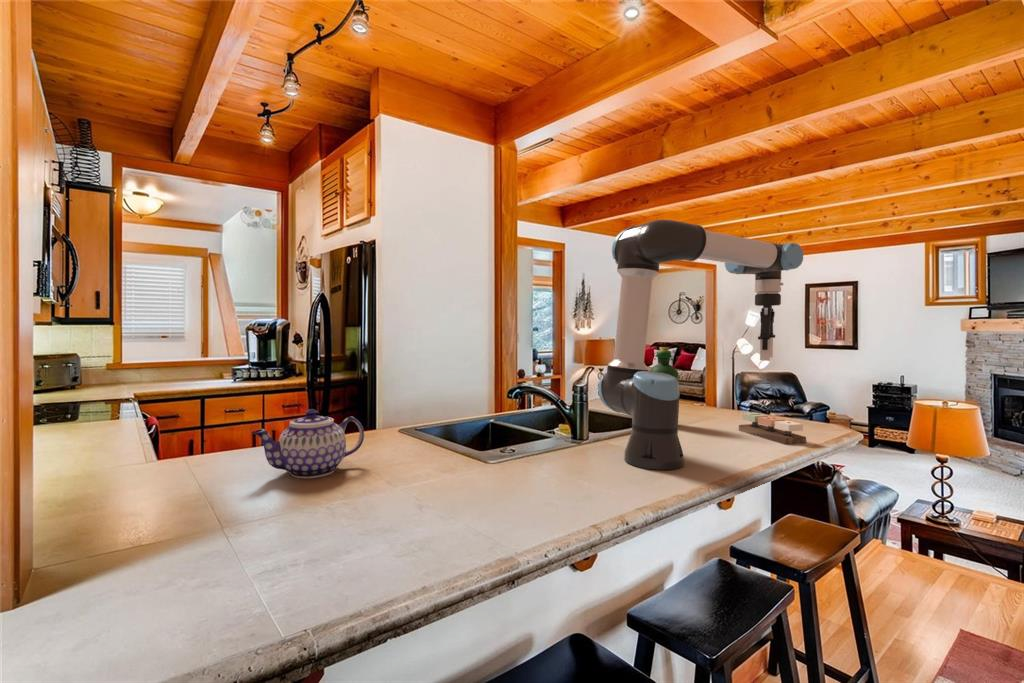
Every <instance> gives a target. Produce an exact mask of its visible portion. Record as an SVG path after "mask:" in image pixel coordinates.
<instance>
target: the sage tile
mask: <svg viewBox="0 0 1024 683" xmlns="http://www.w3.org/2000/svg"><path fill="white" fill-rule="evenodd" d="M758 417H769V415H766V414H762V413H758V412H743V413H742V420H745V421H748V422H751V424H752V427H758V424H759V423H758Z"/></svg>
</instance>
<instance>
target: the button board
mask: <svg viewBox="0 0 1024 683" xmlns="http://www.w3.org/2000/svg"><path fill="white" fill-rule="evenodd" d="M739 430H740V432H742V431H743V432H742V433H745V432H746V434H749V435H752V434H753V436H755V435H756V437H758V436H759V437H760V438H763V439H765V440H769V441H772V442H775V443H779V444H781V445H799V444H801V445H802V444H806V443H807V436H804V435H801V434H797V433H794V432H792V435H791V437H788V436H785V430H782V429H778V428H775V427H774V432H770V431H768V426H767V425H763V424H759V423H758V427H752V423H750V424H749V423H748V424H745V423H744V424H738V431H739Z"/></svg>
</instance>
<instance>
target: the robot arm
mask: <svg viewBox="0 0 1024 683" xmlns="http://www.w3.org/2000/svg"><path fill="white" fill-rule="evenodd" d="M611 253H612V254H611V255H612V259H613V260H615V263H616V265H617V268H616V271H617V273H618V274H619V276H620V277H621V281H620V282H621V283H620V292H619V300H618V301H619V303H618V312H617V314H618V315H617V320H616V322H617V323H616V333H615V342H614V350H613V351H614V352H613V359H612V360H611V361H610V362H609V363H608V364H607V367H606V368H607V369H606V372H605V373H604V374H603V375H602V376H601V378H600V379H599V382H598V386H597V390H598V392H597V393H598V396H599V399H600V401H601V402H602V404H603V405H604V406H605V407H607V408H608V409H611V410H612V411H614V412H616V413H621V414H624V415H627V416H630V417H631V418H632V420H631V433H630V436H629V438H628V441H627V444H626V447H625V449H624V456H623V457H624V461H625V462H626V463H627V464H629V465H631V466H634V467H638V468H642V469H648V470H657V471H670V470H671V471H672V470H679V469H680V468H683V467H684V466H685V454H684V452H683V448H682V446H681V442H680V438H679V414H680V413H679V412H680V410H679V408H680V394H681V393H680V384H679V379H678V380H677V379H676V378H675V377H673V376H671V375H669V374H665V373H658V372H654V371H650V368H649V367H648V366H647V365H646V363H645V354H646V343H647V337H648V336H647V334H648V325H649V315H650V305H651V297H652V296H651V295H652V285H653V279H654V278H655V277H657V276H658V275H659V273H660V272H659V270H660V264H662V263H668V262H677V261H687V262H694V261H697V260H698V259H700V260H707V261H712V262H720V263H724V267H725V270H726V272H728V273H730V274H734V275H754V278H755V279H754V292H755V293H756V294H755V295H754V305H755V306H756V307H761V306H762V308H761V311H760V313H759V316H760V335H759V336H757V340H759V341H760V342H759V344H760V345H759V346H760V347H759V348H760V349H759V361H767V362H770V360H771V358H773V357H774V356H773V355H774V353H773V352H774V339H775V338H776V334H774V323H775V322H774V321H775V314H776V312H775V311H774V308H773V306H774V307H775V306H781V304H782V294H781V291H782V286H783V285H784V282H782V271H788V272H789V271H791V270H795V269H798V268H799V267H800V266H801V265H802V264H803V261H804V251H803V248H802V247H801V245H800V244H798V243H795V242H785V243H775V242H768V241H762V240H758V239H752V238H746V237H742V236H735V235H732V234H725V233H720V232H716V231H709V230H706V229H705V228H704V227H703V226H702V225H699V224H693V223H688V222H684V221H678V220H672V219H655V220H651V221H649V222H648V221H647V222H646V223H645V222H644V223H641V224H638V225H632V226H630V227H628V228H625V229H624V230H622V231H620V232H619V233H618V234H617V235H616V237H615V238H614V240H613V242H612V246H611Z"/></svg>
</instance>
